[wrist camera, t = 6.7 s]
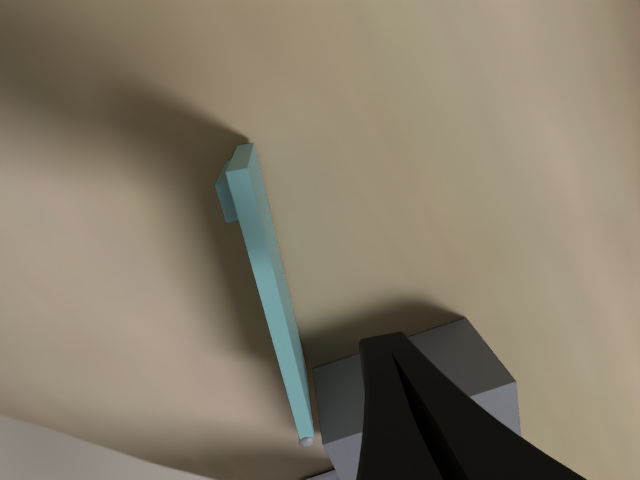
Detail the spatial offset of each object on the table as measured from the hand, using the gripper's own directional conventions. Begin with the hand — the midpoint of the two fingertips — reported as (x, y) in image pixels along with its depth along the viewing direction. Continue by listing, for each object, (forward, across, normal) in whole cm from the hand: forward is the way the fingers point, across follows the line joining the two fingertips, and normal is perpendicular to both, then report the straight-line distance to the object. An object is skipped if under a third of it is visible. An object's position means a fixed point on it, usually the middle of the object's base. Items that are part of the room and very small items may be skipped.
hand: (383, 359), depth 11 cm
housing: (+10, -4, +13) cm, 17 cm away
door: (+10, +4, +2) cm, 11 cm away
